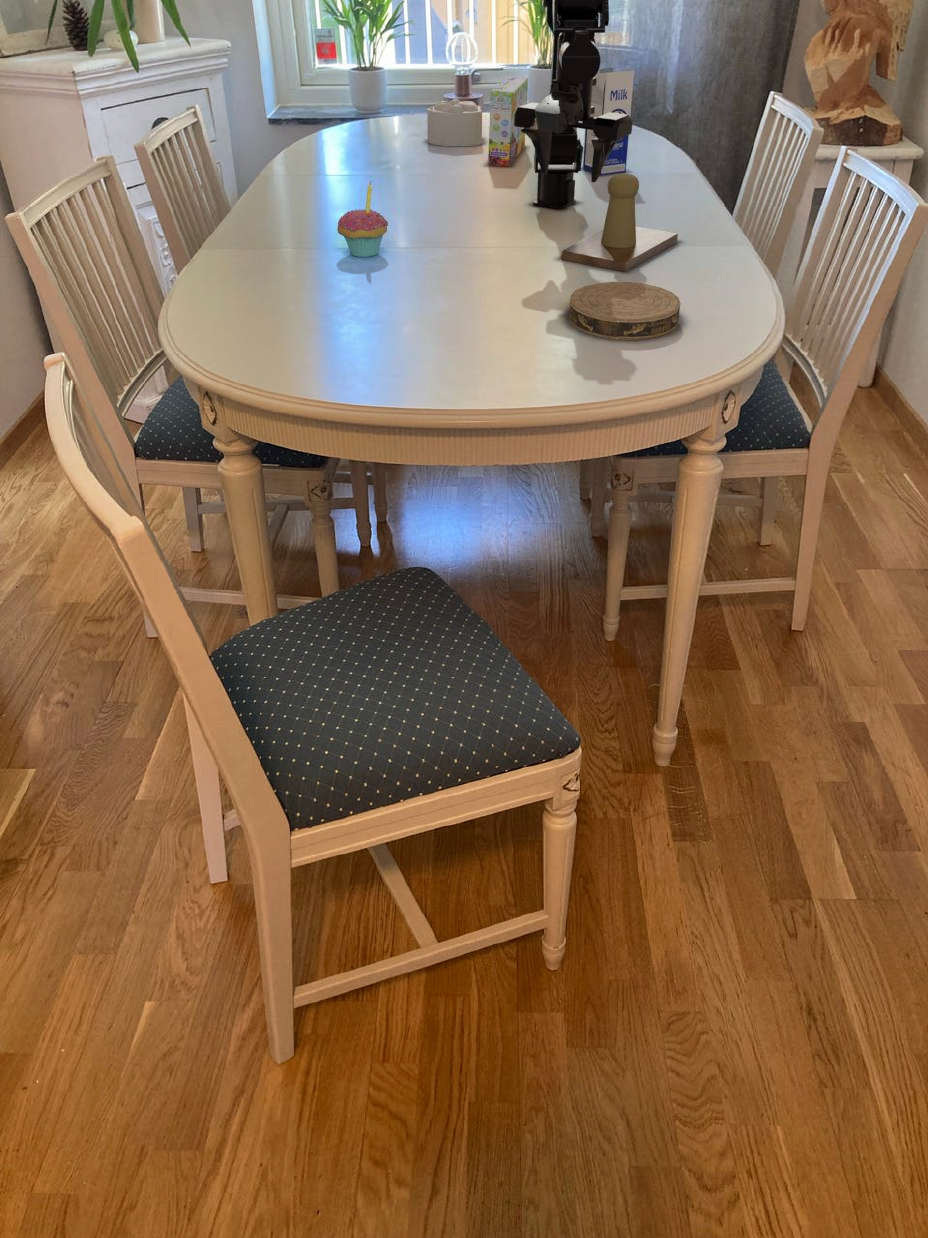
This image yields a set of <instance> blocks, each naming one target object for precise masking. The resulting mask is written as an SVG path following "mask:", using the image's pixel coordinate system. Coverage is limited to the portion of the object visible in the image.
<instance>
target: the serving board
mask: <svg viewBox="0 0 928 1238" xmlns="http://www.w3.org/2000/svg"><path fill="white" fill-rule="evenodd" d="M602 234H603V230H601V231H599V232H596V233H594V234H593V235H590V236H589V237H587V238H585V239H582V240H581V241H578V242H576V243H574V244H573V245H570V246H568V247H566V248H564V249H562V250H561V260H564V261H569V262H573V263H579V264H583V265H589V266H594V267H599V268H602V269H603V268H604V269H609V270H614V271H618V272H624V273H625V272H628V271H629V270H631V269H632V268H634V267H636V266H638V265H640V264H641V263H644V262H645V261H646V260H648V259H650V258H652V257H654V256H656V255H657V254H659V253H661V252H662V251H664V250H665V249H666V250H667V248H669V247H671V246H672V245H674V244H676V243H677V242H678V237H679V233H675V232H669V231H665V230H659V229H654V228H648V227H643V226H637V225H636V245H635V246H632V247H628V248H614V247H608V246H605V245H603V244H602V243H601V239H602Z"/></svg>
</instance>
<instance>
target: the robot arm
mask: <svg viewBox="0 0 928 1238" xmlns="http://www.w3.org/2000/svg"><path fill="white" fill-rule="evenodd" d="M541 2H542V3H541V4H542V5H541V6H542V8H545V16H546V19H545V20H546V23H547V26H548V27H549V29H550V31H551V34H552V49H551V67H550V68H551V69H550V85H549V94H548V95H547V96H544V98H543V99H542V100H541V101H540V102H532V101H531V102H528V103H527V104H526V105H523V106H520V107H518V108H517V109H516V111H515V113H514V126H515V127H522V129H520V130H521V132H522V133H525V136H527V137H528V138H529V139H530V141H531V143H532V145H533V148H534V155H533V156H534V157H533V160H534V161H533V169H534V174H537V188H536V189H537V191H536V193H537V194H536V200H533V201H532V205H533V206H540V207H544V208H551V209H557V210H562V209H564V208H566V207H569V206H571V205H573V204H576V203H577V199H575V193H576V179H574V174H579V172H582V164H583V156H584V146H583V145H582V142H581V138H579V136H578V129H580V130H581V129H582V130H585V129H589V130H593V133H594V134H595V136H596V137H597V138H595V139H592V140H591V142H592V145H593V148H594V152H593V162H592V171H591V172H590V173H591V174H590V181H591V183H596V182H597V181H598V179H599V177H600V176H601V175H600V172H601V170H602V168H603V166H604V164H605V162H606V159H607V157H608V155H609V154H610V152H611V150H612V148H613V147H614V145H615V143H616V142H617V141H619V140H622V139H623V138H624V137H625V136H627V135H629V136H630V135H632V133H633V120H632V118H631V115H630V116H629V115H627V114H619V113H611V112H609V113H607V114H604V115H602V116H599V117H591V114H594V112H595V106H591V100H592V86H594V85H596V82H597V78H594V77H595V75H598V74H599V73H598V72H599V71H600V67H601V55H600V51H599V50H598V47H597V45H596V37H595V35H596V34H605V33H606V27H608V26H609V23H610V5H609V4H610V1H609V0H542V1H541Z"/></svg>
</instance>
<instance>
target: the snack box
mask: <svg viewBox="0 0 928 1238" xmlns="http://www.w3.org/2000/svg"><path fill="white" fill-rule="evenodd" d="M528 86H529V77H526V76H525V77H524V76H506V77H505V78H503V80H502V81H500V82H499V84H497V85H496V86H495V87H494V88H493V89H491V90H490V95H489V96H490V97H489V98H490V101H489V103H490V104H489V132H488V157H487V158H488V159H487V162H488V163H487V165H488V166H495V167H510V166H512V164H513V162H514V161H515V160H516V158H517V157H518V156H519V155H520V154H521V152H522V151H523V150H524V148H525V147H526V134H525V133H522V132H521V130H520V129H522V127H515V126H514V113H515V111H516V109H517V108H518V107H520V106H523V105H526V104H528V90H529V89H528Z"/></svg>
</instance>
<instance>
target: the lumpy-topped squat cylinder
mask: <svg viewBox="0 0 928 1238" xmlns="http://www.w3.org/2000/svg"><path fill="white" fill-rule="evenodd" d="M426 113H427V114H426V115H427V119H426V120H427V121H426V123H427V143H428V144H431V145H435V146H442V147H475V146H481V145H483V110H482V107H481V106H480V105H477V103H476V102H474V101H472V100H471V101H470V100H464V101H461V100H460V99H457V98H453V99H452V100H449V101H447V100H441V101H438V102H437V103H436V104H435V105H434V106H430V107H429V108H427V109H426Z"/></svg>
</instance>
